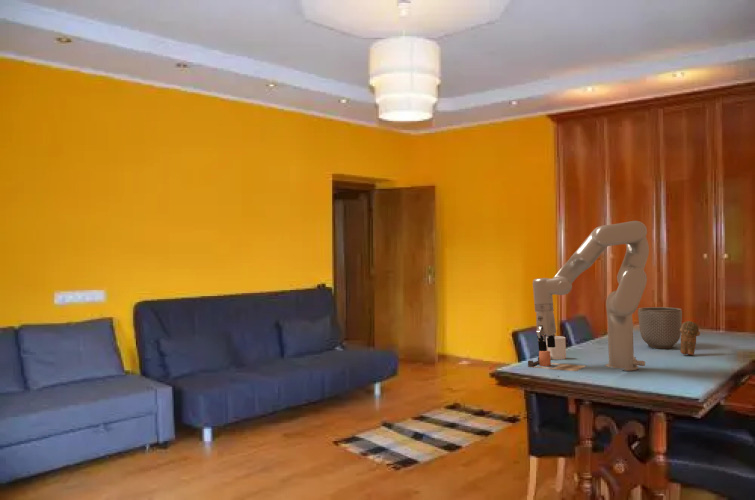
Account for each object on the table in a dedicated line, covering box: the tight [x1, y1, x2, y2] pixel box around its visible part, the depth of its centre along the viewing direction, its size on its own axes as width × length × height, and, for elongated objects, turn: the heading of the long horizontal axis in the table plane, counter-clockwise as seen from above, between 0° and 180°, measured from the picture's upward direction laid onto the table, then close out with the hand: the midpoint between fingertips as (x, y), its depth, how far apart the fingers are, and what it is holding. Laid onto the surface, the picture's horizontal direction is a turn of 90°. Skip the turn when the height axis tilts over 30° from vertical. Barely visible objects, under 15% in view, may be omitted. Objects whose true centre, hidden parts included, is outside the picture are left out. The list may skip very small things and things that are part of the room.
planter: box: [637, 306, 683, 350], centre depth 302 cm, size 20×20×19 cm
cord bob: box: [538, 350, 552, 367], centre depth 255 cm, size 4×4×7 cm
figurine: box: [679, 320, 701, 356], centre depth 278 cm, size 8×8×15 cm
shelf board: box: [527, 356, 586, 372], centre depth 252 cm, size 20×13×4 cm, turn 54°
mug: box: [545, 335, 567, 360], centre depth 272 cm, size 12×8×10 cm
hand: (547, 349), depth 255 cm, fingers open, 9 cm apart
